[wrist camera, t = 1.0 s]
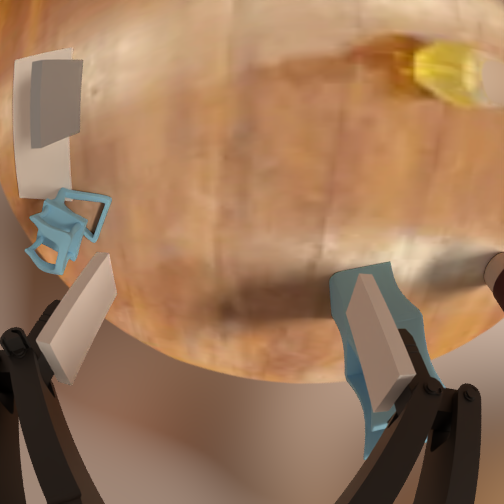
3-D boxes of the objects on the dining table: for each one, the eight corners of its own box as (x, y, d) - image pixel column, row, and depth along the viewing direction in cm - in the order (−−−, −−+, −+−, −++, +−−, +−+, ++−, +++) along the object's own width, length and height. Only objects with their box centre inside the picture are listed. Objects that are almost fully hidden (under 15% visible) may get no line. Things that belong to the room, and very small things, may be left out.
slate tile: (72, 61, 29) (31, 62, 21) (83, 59, 29) (42, 59, 21) (69, 132, 34) (30, 148, 26) (80, 132, 34) (41, 148, 26)
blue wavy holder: (328, 273, 45) (371, 427, 23) (390, 261, 43) (463, 398, 22) (331, 321, 49) (362, 460, 28) (387, 309, 48) (438, 438, 27)
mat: (16, 60, 27) (14, 60, 27) (73, 47, 28) (71, 47, 27) (21, 196, 38) (19, 197, 38) (73, 200, 39) (71, 201, 38)
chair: (65, 173, 36) (17, 210, 26) (113, 198, 39) (75, 243, 29) (53, 216, 40) (12, 260, 29) (97, 240, 42) (64, 291, 32)
